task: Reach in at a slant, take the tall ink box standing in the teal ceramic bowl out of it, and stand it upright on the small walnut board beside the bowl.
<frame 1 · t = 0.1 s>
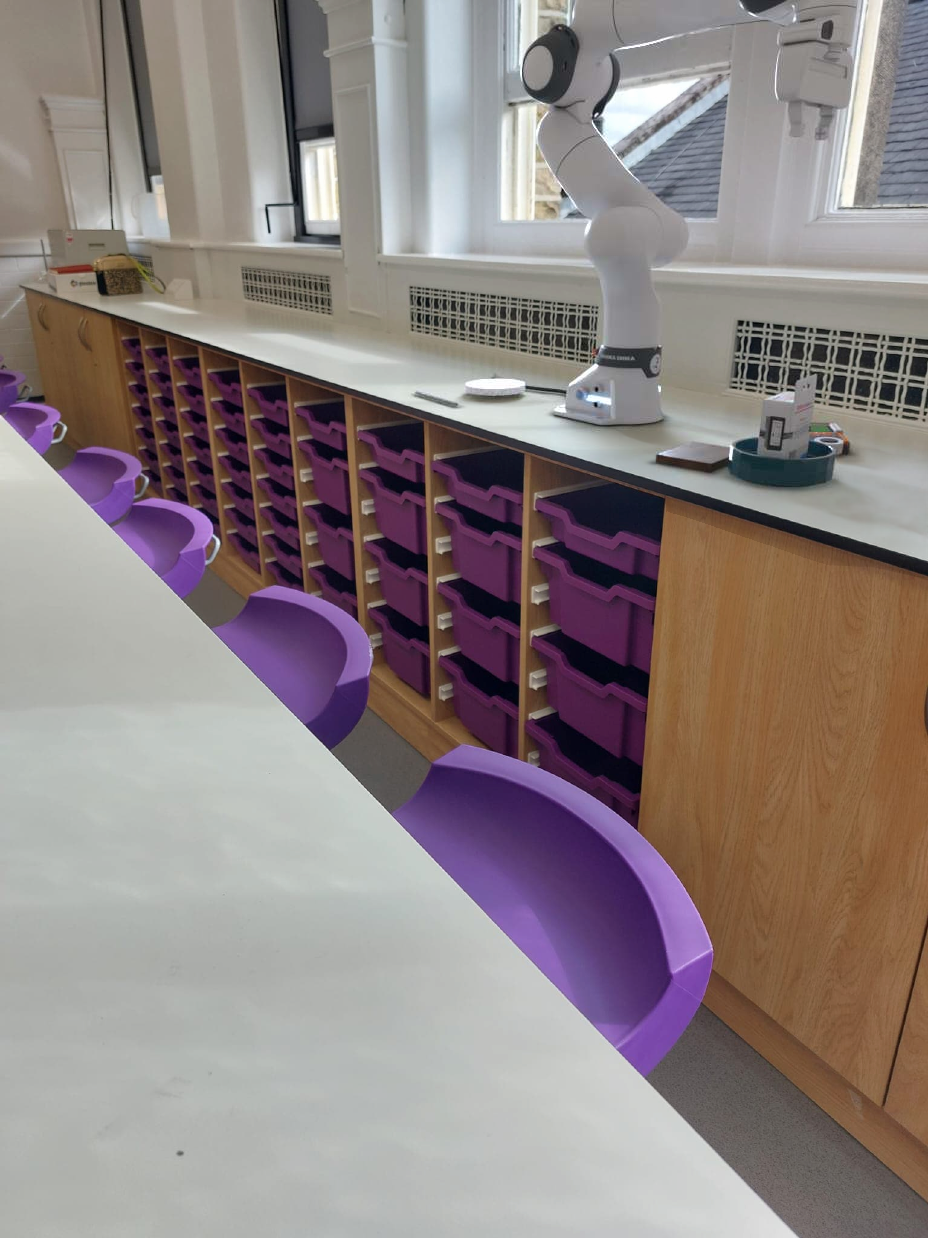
hand: (808, 138, 139), 48 cm above the table, tool pointing down, fingers open, 8 cm apart
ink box: (779, 474, 135), resting on bowl
electronic device: (820, 447, 153), on the table
bowl: (779, 476, 136), on the table
plastic lid: (495, 395, 205), on the table
rod: (436, 400, 199), on the table
walnut board: (700, 460, 145), on the table
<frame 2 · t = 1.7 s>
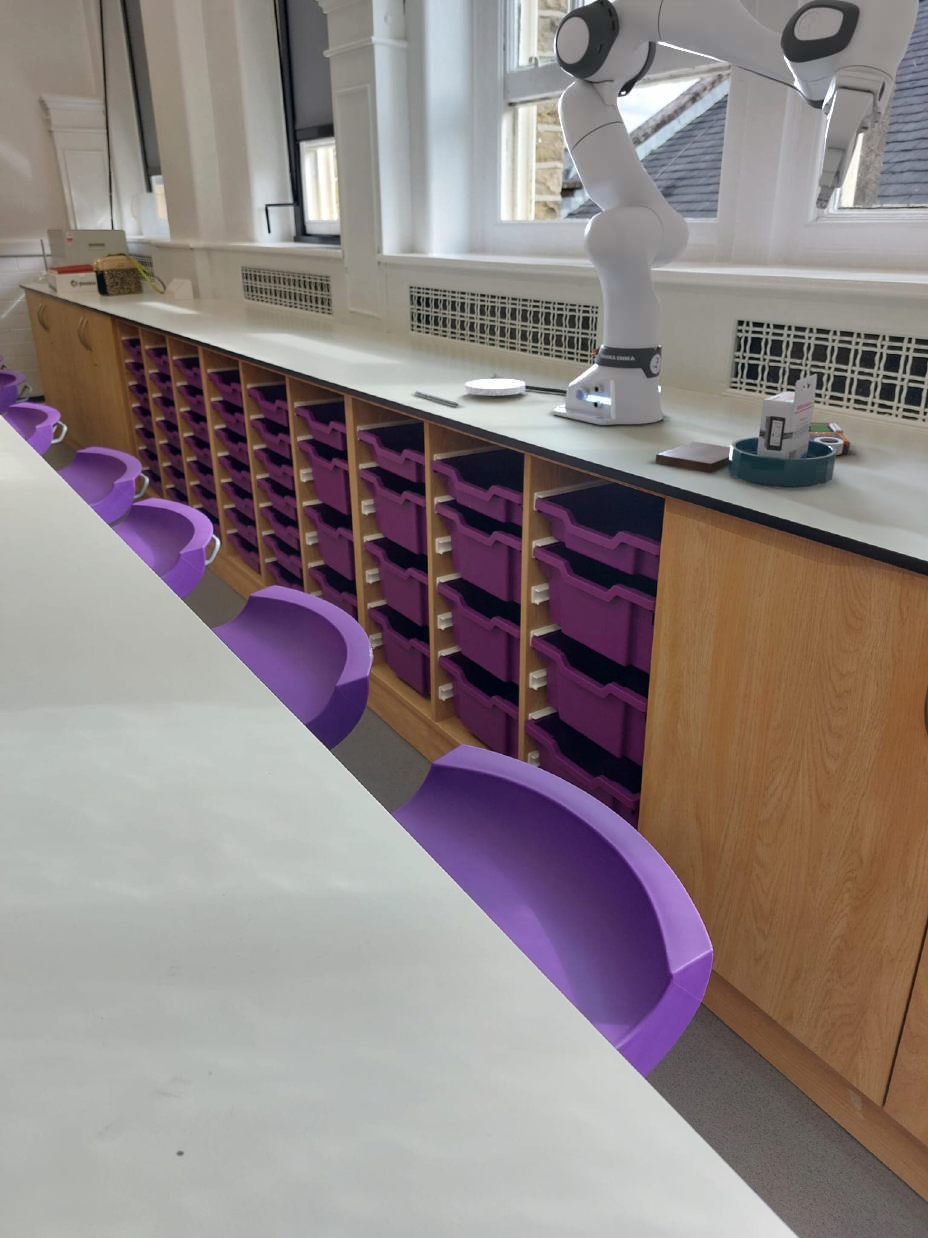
hand: (822, 196, 134), 39 cm above the table, tool tilted 20°, fingers open, 8 cm apart
nothing on the table moved.
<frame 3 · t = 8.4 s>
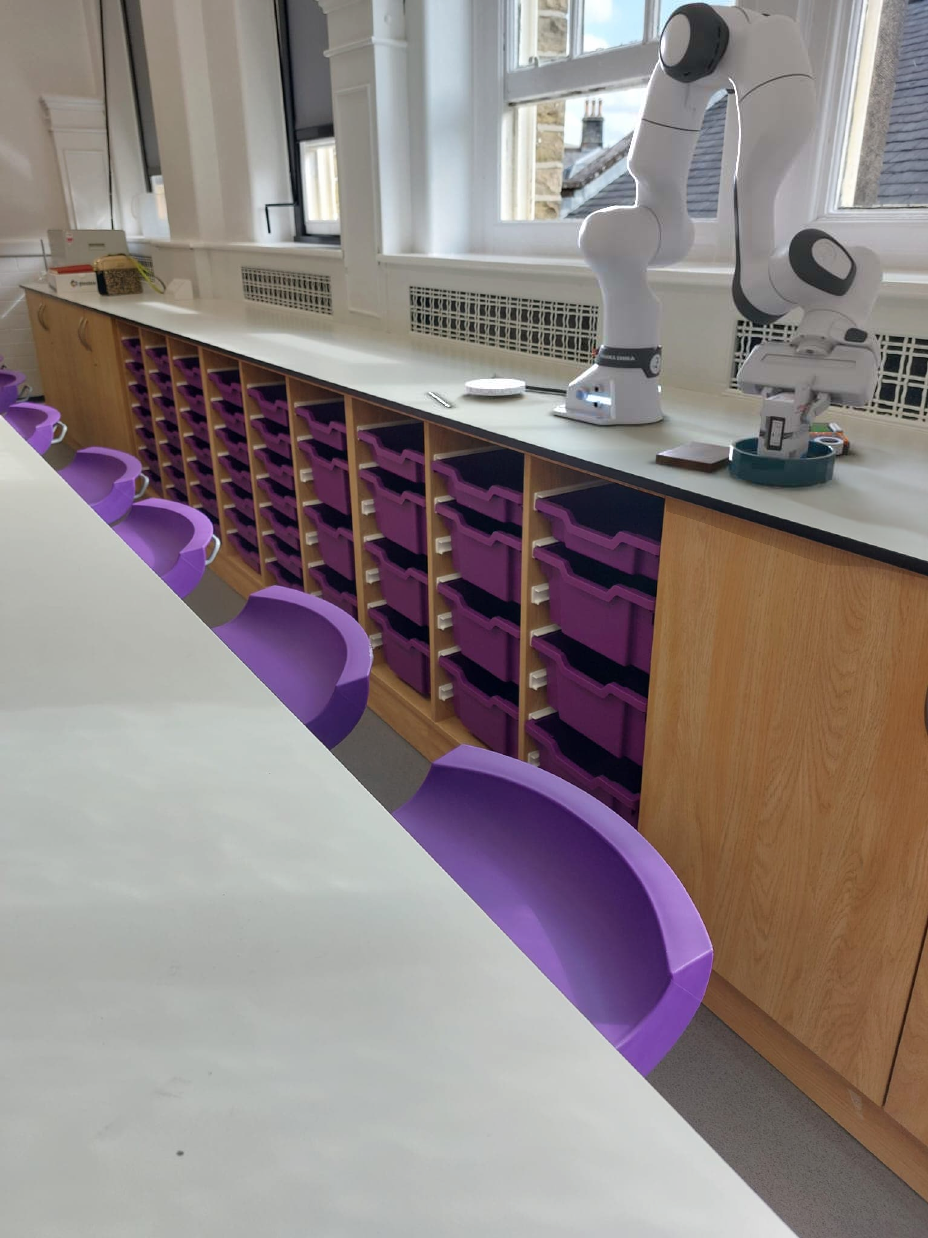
hand: (785, 419, 132), 9 cm above the table, tool tilted 45°, fingers closed on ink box, 5 cm apart
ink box: (779, 474, 135), resting on bowl, touching gripper
rod: (440, 402, 200), on the table
everything else where it was.
when the fingers open (10 cm above the table, at t = 17.7 s): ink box stays where it is, resting on walnut board.
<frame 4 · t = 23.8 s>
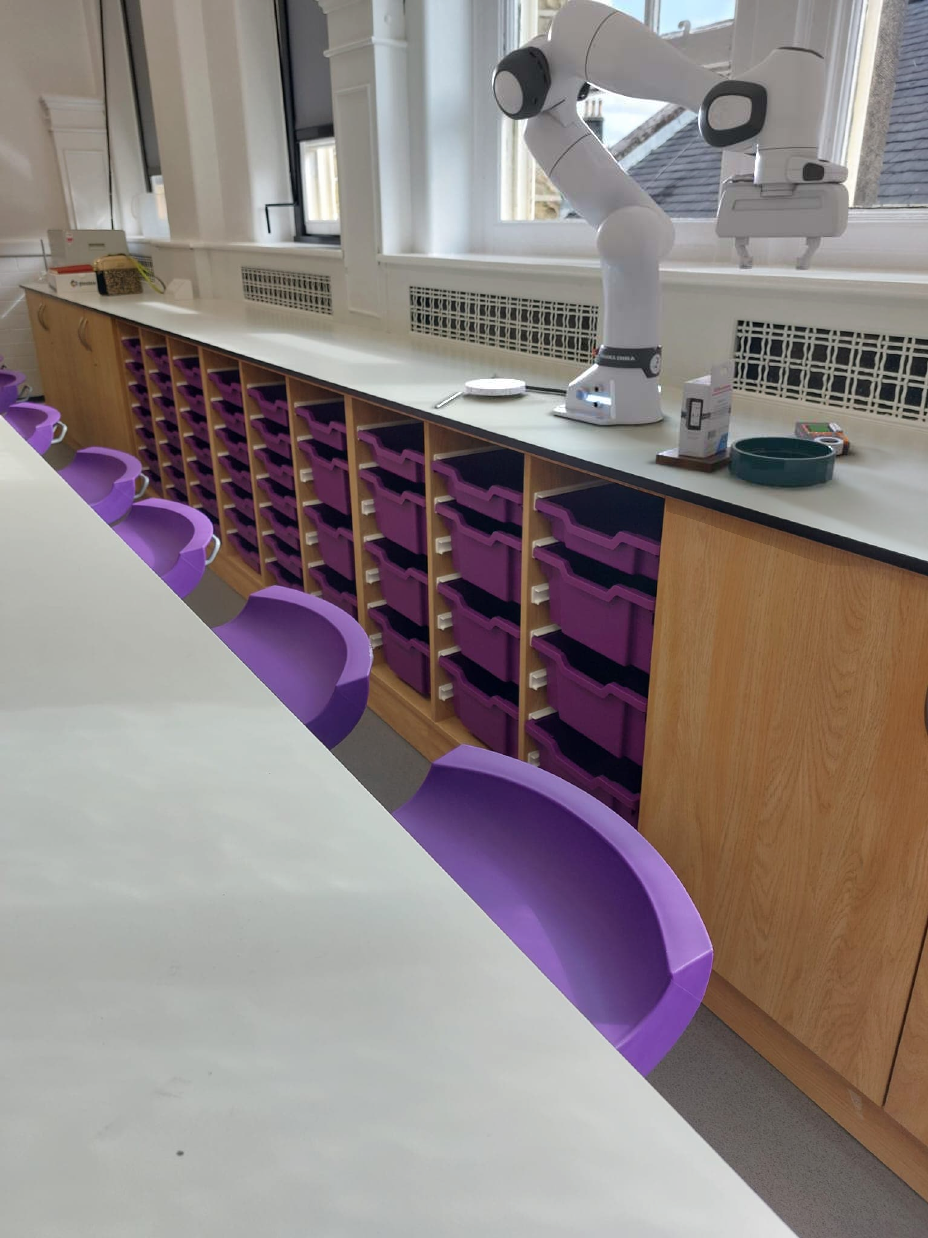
hand: (773, 269, 139), 29 cm above the table, tool pointing down, fingers open, 8 cm apart
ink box: (701, 453, 144), point 1 cm above the table, touching walnut board
rod: (448, 402, 199), on the table
everything else where it was.
at the end: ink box inside the target area on the walnut board (0.1 cm from its centre), point 1.3 cm above the walnut board's base; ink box tilted 0° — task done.
